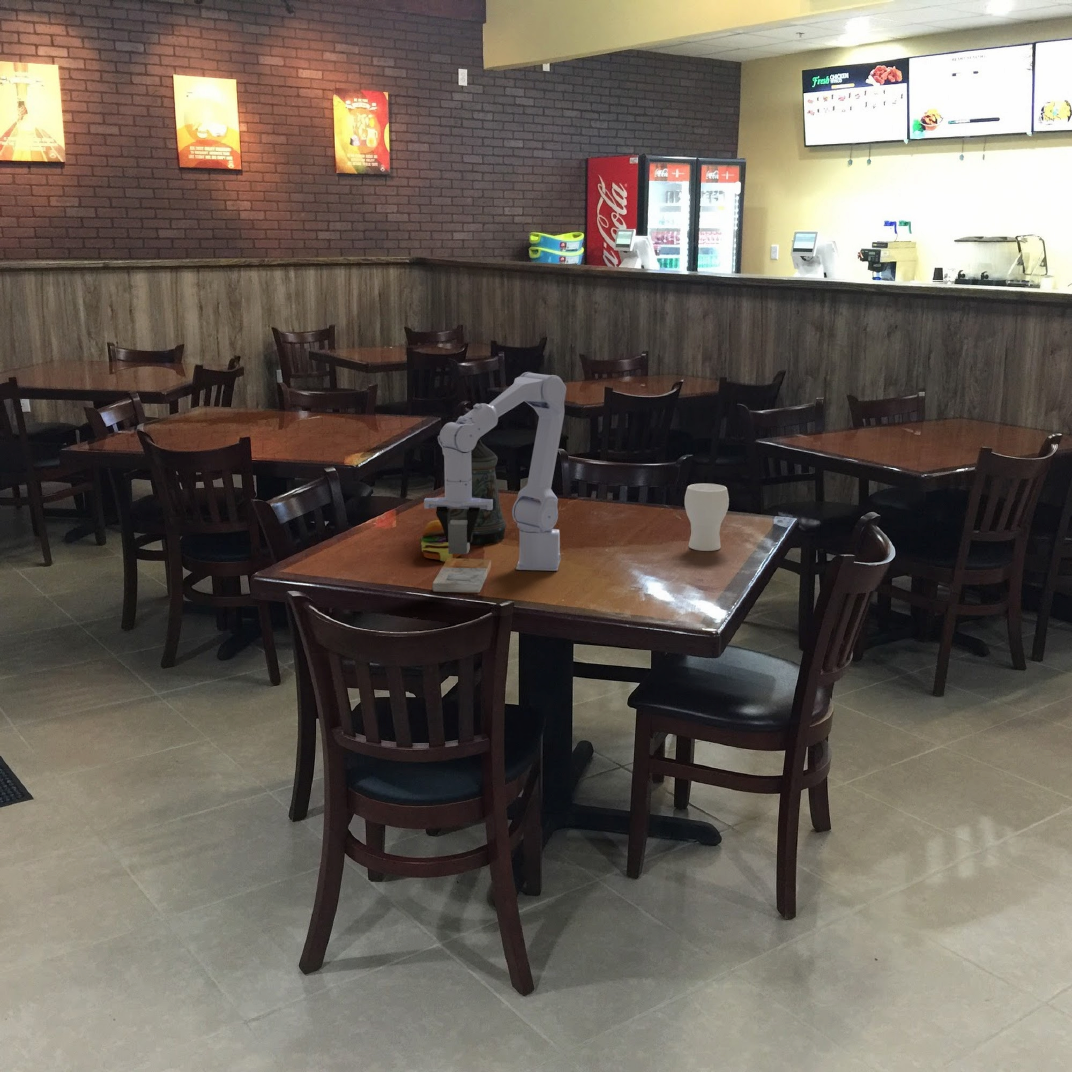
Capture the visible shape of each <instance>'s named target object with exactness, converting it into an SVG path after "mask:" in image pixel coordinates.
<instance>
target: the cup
mask: <svg viewBox="0 0 1072 1072" xmlns="http://www.w3.org/2000/svg"><path fill="white" fill-rule="evenodd" d="M729 497H730V496H729V491H728V488H727V487H726V485H722V484H716V483H694V484H690V485H688V486H687V487H686V491H685V495H684V509H685V512H686V515H687V517H688V520H689V522H690V530H691V534H690V537H689V540H688V541H689V542H688V548H690V549H692V550H695V551H700V552H702V551H703V552H710V551H711V552H713V551H714V552H715V551H717V550H720V549H721V548H722V547H721V537H720V531H721V527H722V526H721V525H722V522H723V521H724V519H725V517H726V515H727V512H728V509H729V505H730V503H729V502H730V498H729Z"/></svg>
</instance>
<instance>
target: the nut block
mask: <svg viewBox="0 0 1072 1072" xmlns="http://www.w3.org/2000/svg"><path fill="white" fill-rule="evenodd" d="M467 534H468V522H467V520H451V521H450V522H449V524H448V550H449V554H462V555H468V554H469V551H470V550H471V545H470V543H468V541H467Z"/></svg>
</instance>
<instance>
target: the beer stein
mask: <svg viewBox="0 0 1072 1072" xmlns="http://www.w3.org/2000/svg"><path fill="white" fill-rule="evenodd" d="M498 459H499V458H498V456H497V454H495V452H494V451H492V450H491V449H490V448H488V447H487V446H486V445H485V444H484V443H482V440H481V437H480V438H479V439H478V441H477V443H476V446H475V448H474V449H473V450H471V476H472V498H480V499H493V508H492V510H487V509H481V511H480V513H479V516H478V518H477V521H476V524H475V527H474V530H473V535H472V541H471V543H470V546H478V545H479V546H482V545H483V546H484V545H490V544H491V545H492V544H496V543H499V542H500V541H503V540H504V539H505V533H506V528H507V522H506V520H505V518H504V515H503V512H502V507H501V502H500V495H499V490H498V489H499V488H498V483H497V482H498V481H497V475H496V466H497V463H498ZM468 510H469V509H453V508H451V511H450V521H451V520H467V511H468Z"/></svg>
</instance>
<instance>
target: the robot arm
mask: <svg viewBox="0 0 1072 1072" xmlns="http://www.w3.org/2000/svg"><path fill="white" fill-rule="evenodd" d="M567 388H568V387H567V386H566V385H565V383H564V382H563V379H562V378H561V377H560V376H558V375H556V374H555V375H554V374H551V375H550V374H541V373H534V372H532V371H527V372H526V371H525V372H523V373H522V374H520V375H519V376H518V377H515V378H514V380H513V384H512V385H510V386H509V387H508V388H507V389H505V390H504V391H503V392H502V393H500V394H499V395H498V396H497V397H496V398H495V399H493V400H492V401H491V402H490V403H489V404H487V403H482V402H481V403H475V404H474V405H473V406H472V407H473V409H471V410H469V411H468V412H467V413H465V414H464V415H460V416H459V417H458V418H457V420H456V421H455V422H453V421H450V422H447V423H445V424H444V426H443V427H442V428H441V429H440V432H439V435H438V436H437V441H438V444H439V445H440V447H441V451H442V455H443V458H444V459H443V460H444V462H443V463H444V466H443V467H444V497H425V498H424V499H423V507H424V510H425V509H426V510H427V509H429V510H430V509H435V510H436V511H435V514H436V517H437V520H439V521H440V523H441V525H442V528H443V530H444V534H445V538H446V542H448V524H449V522H450V511H451V508H453V509H469V510H468V511H467V522H468V534H467V541H468V543H471V541H472V535H473V530H474V527H475V524H476V521H477V518H478V516H479V513H480V511H481V509H487V510H492V508H493V499H480V498H472V476H471V450H473V449H474V448H475V446H476V443H477V441H478V439H479V438H480V439H481V437H482V436H484V435H485V434H487V433H488V432H490V431H491V430H492V429H494V428H495V427H496V426H498V422H499V417H501V416H503V415H504V414H505V413H506V414H507V412H509V411H510V410H513V409H514V408H516V407H518V405H520V404H521V403H524V402H525V403H526V404H528V405H529V406H530V407H531V408H533V410H534V411H535V412H536V414H537V416H538V421H537V428H536V434H535V438H534V445H533V449H532V455H531V460H530V467H529V472H528V473H529V474H528V476H527V477H528V479H527V484H526V485H525V486H524V487H523V488H522V487H521V489H520V490H519V491H518V492H517V493H518V494H517V497H516V500H515V502H514V504H513V506H512V509H511V514H512V518H513V521H514V522H515V523H516V524H517V525H516V526H517V528H518V529H519V531H518V532H519V533H518V534H519V537H518V540H519V541H518V543H519V545H518V546H519V550H518V552H519V553H518V554H519V557H518V562H517V565H516V567H515V570H516V571H517V570H519V571H549V572H550V571H552V572H553V571H554V572H555V571H556V572H557V571H558V570H559V567H560V566H559V565H560V563H561V555H562V554H561V553H560V552H561V551H560V550H561V547H560V546H561V539H560V538H561V534H560V532H561V531H560V529H556V528H554V527H555V526H556V524H557V522H558V518H559V509H558V501H559V499H558V497H557V496H556V494H555V493H554V492H553V489H552V484H553V478H554V475H555V474H554V472H555V467H556V462H557V456H558V451H559V447H560V440H561V436H562V435H561V434H562V430H563V423H564V417H565V401H566V400H565V399H566V394H567Z"/></svg>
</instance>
